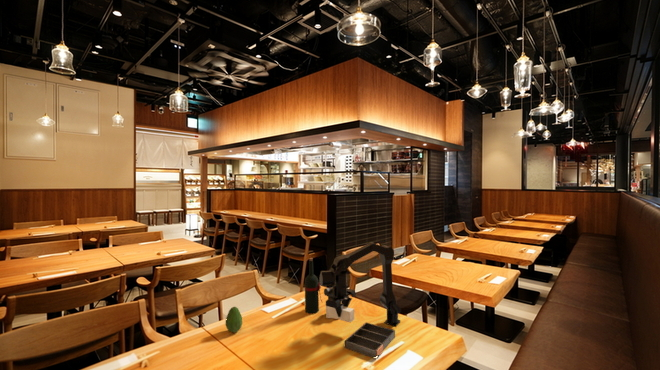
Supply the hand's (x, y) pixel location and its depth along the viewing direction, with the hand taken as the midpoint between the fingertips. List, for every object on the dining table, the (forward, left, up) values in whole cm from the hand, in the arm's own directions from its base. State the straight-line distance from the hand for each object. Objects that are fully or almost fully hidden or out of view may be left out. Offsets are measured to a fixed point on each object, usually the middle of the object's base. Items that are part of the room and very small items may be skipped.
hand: (341, 315), depth 140 cm
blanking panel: (0, 0, -1) cm, 1 cm away
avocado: (+29, -45, -8) cm, 54 cm away
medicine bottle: (-12, -13, -8) cm, 19 cm away
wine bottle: (-11, -26, -8) cm, 29 cm away
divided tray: (+1, +16, -8) cm, 18 cm away
